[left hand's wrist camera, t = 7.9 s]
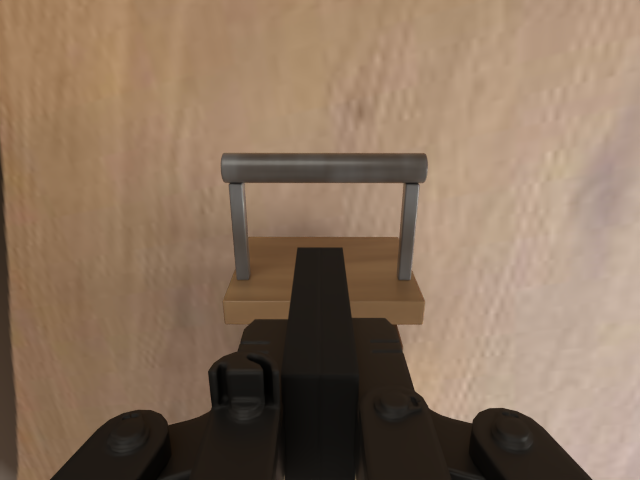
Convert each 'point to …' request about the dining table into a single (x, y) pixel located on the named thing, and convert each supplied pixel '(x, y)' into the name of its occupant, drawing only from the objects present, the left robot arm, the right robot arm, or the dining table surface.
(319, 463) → the left robot arm
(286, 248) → the drawer
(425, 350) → the dining table surface
